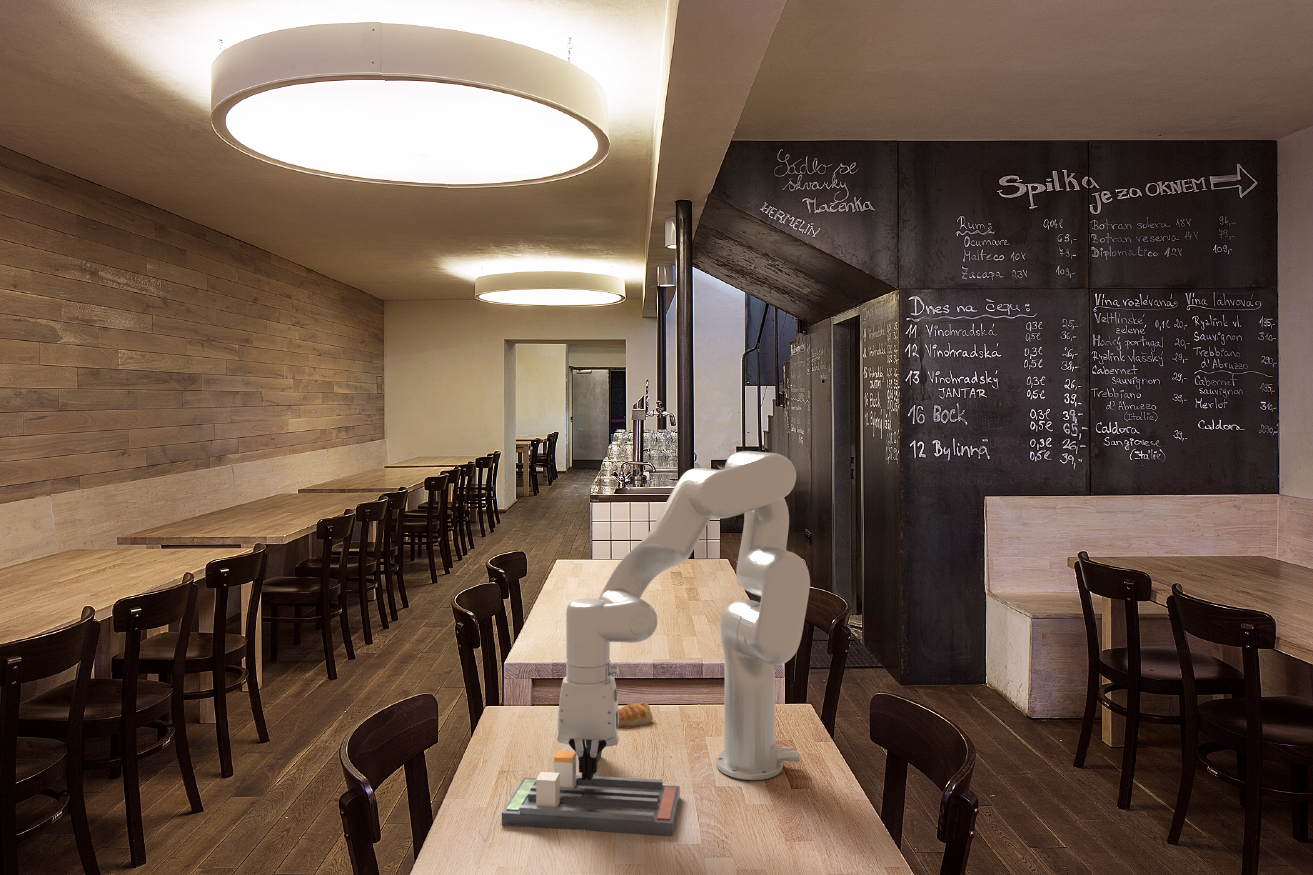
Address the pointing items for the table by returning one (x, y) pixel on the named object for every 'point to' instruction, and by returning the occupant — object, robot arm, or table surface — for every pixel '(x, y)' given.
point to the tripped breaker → (566, 768)
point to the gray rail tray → (599, 806)
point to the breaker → (548, 789)
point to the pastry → (635, 714)
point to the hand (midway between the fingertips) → (588, 776)
